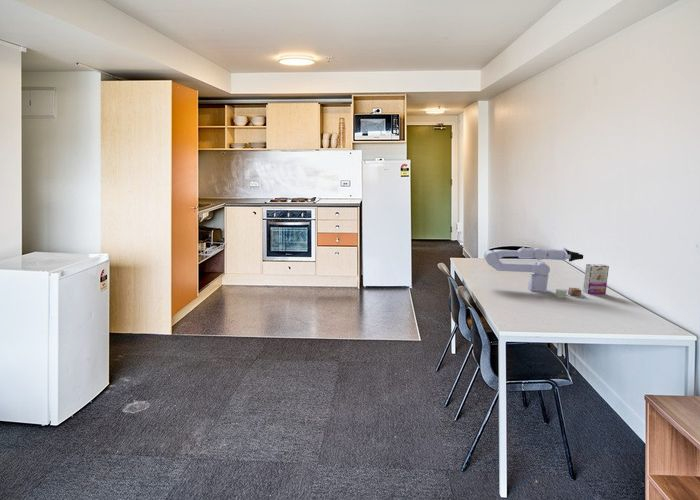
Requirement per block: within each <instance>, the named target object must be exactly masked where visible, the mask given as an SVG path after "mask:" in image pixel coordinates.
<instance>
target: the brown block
mask: <svg viewBox="0 0 700 500" xmlns="http://www.w3.org/2000/svg"><path fill="white" fill-rule="evenodd" d="M568 290H569V291H568V294H569V295H570V296H577V297H576V298H581V294H582V292H583V289H580V288H577V287H568Z"/></svg>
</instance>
